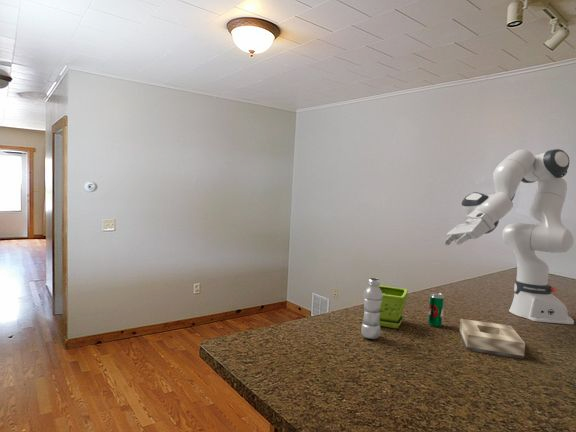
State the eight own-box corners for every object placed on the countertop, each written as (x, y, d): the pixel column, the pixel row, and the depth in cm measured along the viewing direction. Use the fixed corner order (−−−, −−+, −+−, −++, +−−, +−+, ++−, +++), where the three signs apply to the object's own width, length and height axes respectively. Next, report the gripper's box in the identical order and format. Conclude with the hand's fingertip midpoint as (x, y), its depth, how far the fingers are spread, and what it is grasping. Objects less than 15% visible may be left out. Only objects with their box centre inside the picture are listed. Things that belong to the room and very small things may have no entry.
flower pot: (406, 320, 140) (408, 288, 139) (401, 332, 128) (404, 297, 127) (370, 314, 146) (372, 283, 145) (362, 325, 133) (364, 291, 133)
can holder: (509, 339, 126) (510, 325, 126) (523, 359, 111) (525, 343, 110) (459, 332, 131) (460, 318, 130) (466, 349, 116) (467, 334, 115)
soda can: (443, 328, 134) (445, 296, 133) (428, 326, 135) (431, 295, 134) (440, 323, 139) (442, 292, 138) (426, 321, 140) (428, 291, 139)
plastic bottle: (381, 335, 124) (384, 278, 123) (379, 343, 118) (383, 282, 116) (362, 332, 126) (365, 276, 125) (359, 339, 120) (363, 280, 118)
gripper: (459, 218, 153) (434, 238, 151) (487, 213, 132) (458, 235, 131) (468, 230, 152) (443, 250, 151) (498, 226, 132) (469, 249, 131)
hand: (451, 243), depth 141 cm, fingers open, 8 cm apart
